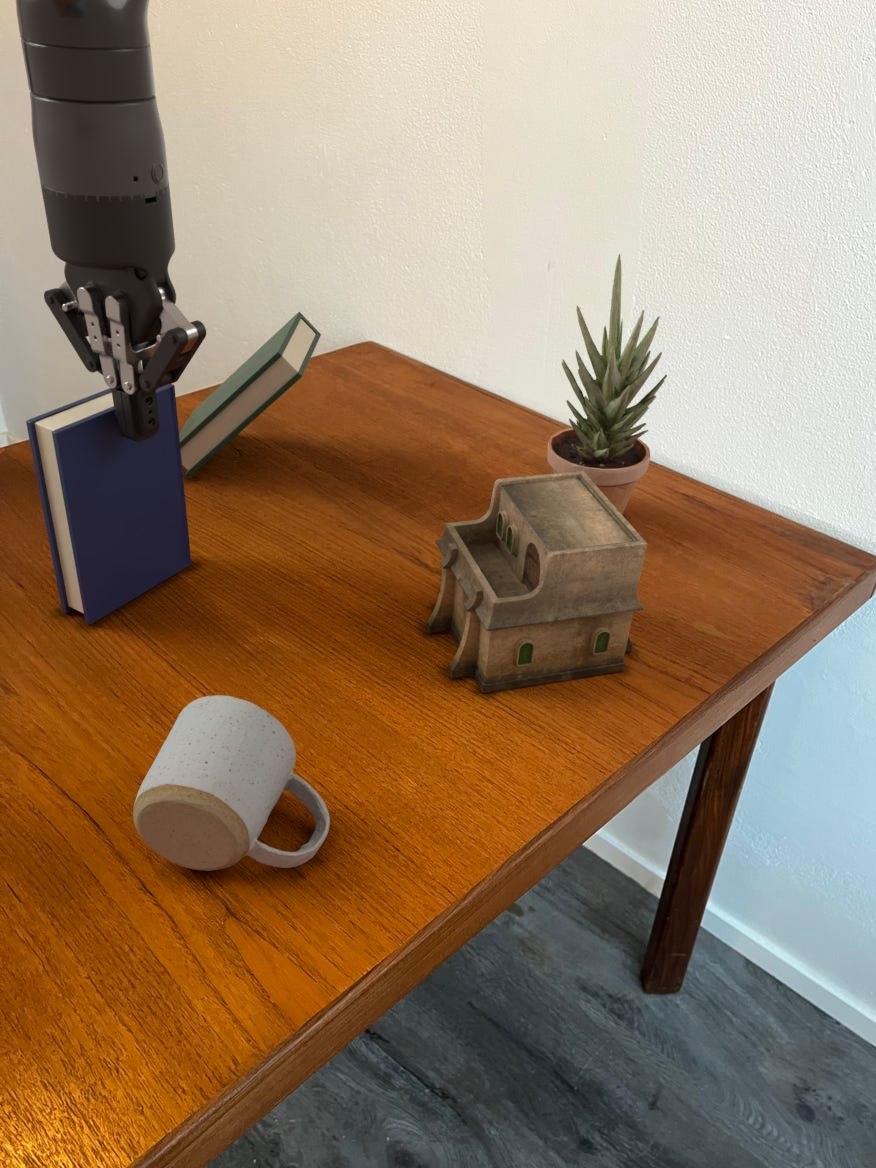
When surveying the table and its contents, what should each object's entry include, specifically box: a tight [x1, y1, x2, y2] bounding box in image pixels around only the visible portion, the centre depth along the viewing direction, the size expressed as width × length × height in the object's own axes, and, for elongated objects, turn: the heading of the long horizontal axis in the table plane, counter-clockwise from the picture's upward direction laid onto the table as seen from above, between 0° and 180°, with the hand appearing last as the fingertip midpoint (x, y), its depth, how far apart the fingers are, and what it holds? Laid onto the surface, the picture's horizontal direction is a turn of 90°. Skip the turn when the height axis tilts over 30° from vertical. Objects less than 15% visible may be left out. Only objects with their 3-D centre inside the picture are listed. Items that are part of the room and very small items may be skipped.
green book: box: [179, 311, 322, 479], centre depth 98 cm, size 16×11×3 cm
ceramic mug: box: [132, 694, 331, 872], centre depth 60 cm, size 11×8×8 cm
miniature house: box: [426, 471, 648, 694], centre depth 78 cm, size 15×14×11 cm
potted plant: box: [546, 253, 668, 515], centre depth 90 cm, size 10×10×25 cm
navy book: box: [25, 383, 192, 626], centre depth 77 cm, size 16×11×3 cm
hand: (140, 436), depth 72 cm, fingers closed
